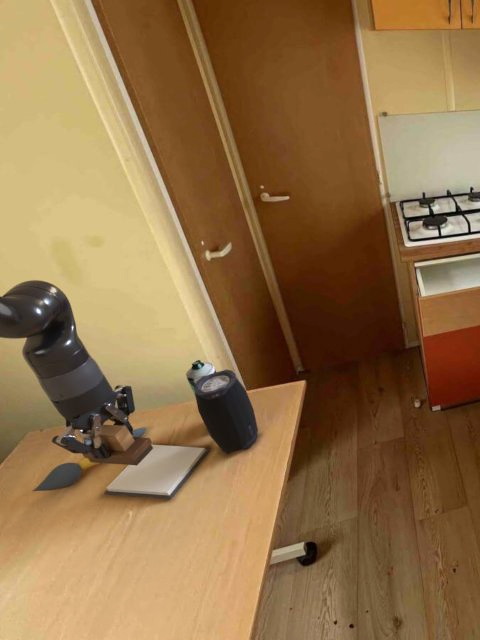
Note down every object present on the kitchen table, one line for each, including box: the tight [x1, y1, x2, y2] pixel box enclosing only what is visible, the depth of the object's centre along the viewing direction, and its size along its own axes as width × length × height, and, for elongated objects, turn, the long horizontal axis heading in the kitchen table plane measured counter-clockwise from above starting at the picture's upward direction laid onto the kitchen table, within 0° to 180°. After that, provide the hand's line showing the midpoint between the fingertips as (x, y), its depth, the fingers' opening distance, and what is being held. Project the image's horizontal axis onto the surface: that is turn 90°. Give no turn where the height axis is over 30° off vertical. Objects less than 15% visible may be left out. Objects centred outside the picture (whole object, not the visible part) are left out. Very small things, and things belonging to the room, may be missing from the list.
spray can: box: [185, 359, 217, 395], centre depth 103 cm, size 6×6×20 cm
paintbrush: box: [32, 427, 147, 492], centre depth 96 cm, size 20×5×5 cm, turn 158°
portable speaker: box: [194, 368, 259, 455], centre depth 98 cm, size 9×9×20 cm
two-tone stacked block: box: [82, 424, 153, 466], centre depth 84 cm, size 4×10×8 cm, turn 86°
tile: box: [103, 444, 211, 500], centre depth 95 cm, size 15×12×2 cm
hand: (116, 446), depth 85 cm, fingers closed on two-tone stacked block, 4 cm apart
